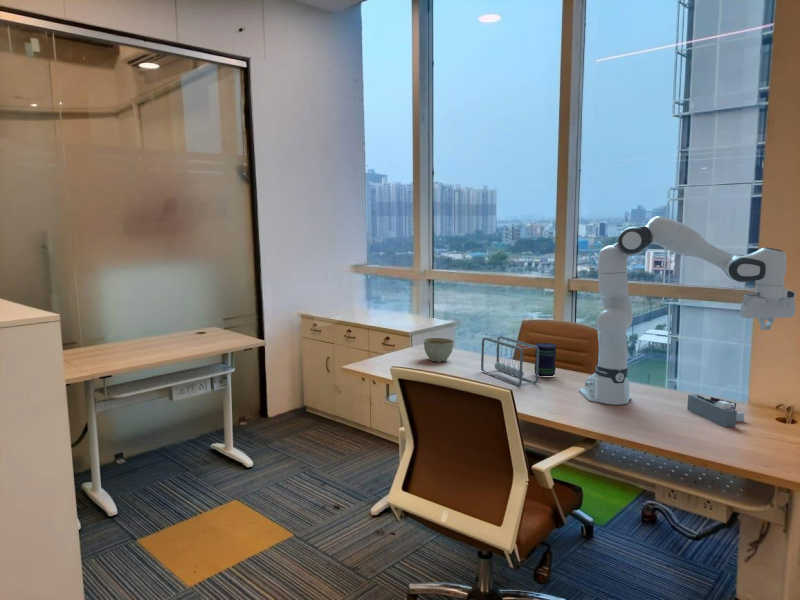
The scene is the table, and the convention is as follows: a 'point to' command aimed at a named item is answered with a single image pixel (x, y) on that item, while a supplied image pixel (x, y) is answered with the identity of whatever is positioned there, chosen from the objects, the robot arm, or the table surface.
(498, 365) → the newton's cradle
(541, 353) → the storage jar
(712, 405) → the charging dock
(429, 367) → the table surface
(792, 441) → the table surface
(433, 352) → the planter bowl
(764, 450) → the table surface
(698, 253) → the robot arm
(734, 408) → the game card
